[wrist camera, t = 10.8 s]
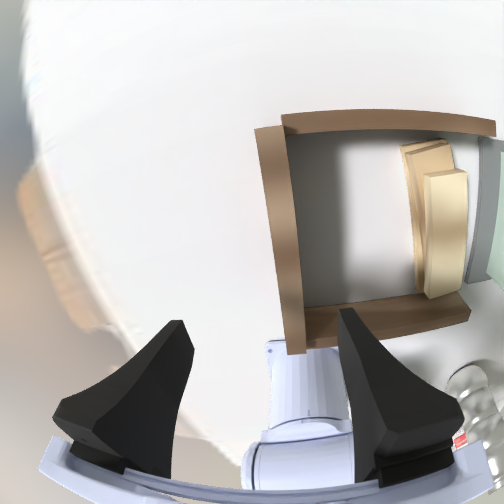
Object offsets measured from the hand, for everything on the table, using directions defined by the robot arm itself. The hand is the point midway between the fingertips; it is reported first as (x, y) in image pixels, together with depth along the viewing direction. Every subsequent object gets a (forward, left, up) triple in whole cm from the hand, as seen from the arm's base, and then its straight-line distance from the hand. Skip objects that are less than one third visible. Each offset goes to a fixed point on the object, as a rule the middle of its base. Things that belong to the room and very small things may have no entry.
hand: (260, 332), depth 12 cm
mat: (0, -23, -10) cm, 25 cm away
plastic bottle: (-24, -25, -11) cm, 36 cm away
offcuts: (0, -14, -11) cm, 18 cm away
